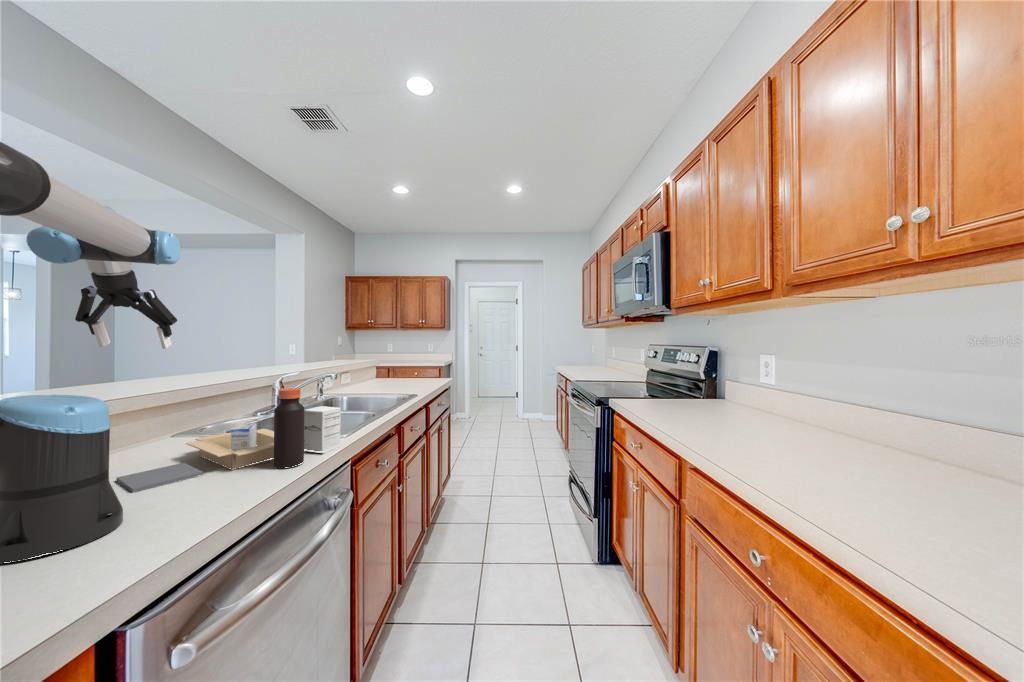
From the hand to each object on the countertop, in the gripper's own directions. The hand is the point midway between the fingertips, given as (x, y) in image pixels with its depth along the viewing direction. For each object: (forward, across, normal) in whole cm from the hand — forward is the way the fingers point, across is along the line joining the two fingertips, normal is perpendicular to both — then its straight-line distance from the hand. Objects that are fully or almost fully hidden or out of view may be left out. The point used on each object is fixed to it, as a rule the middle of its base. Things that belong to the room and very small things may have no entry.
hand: (136, 345), depth 99 cm
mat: (+19, -16, +31) cm, 40 cm away
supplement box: (+25, -48, +18) cm, 57 cm away
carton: (+25, -28, +18) cm, 42 cm away
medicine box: (+25, -28, +18) cm, 42 cm away
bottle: (+19, -43, +28) cm, 55 cm away
